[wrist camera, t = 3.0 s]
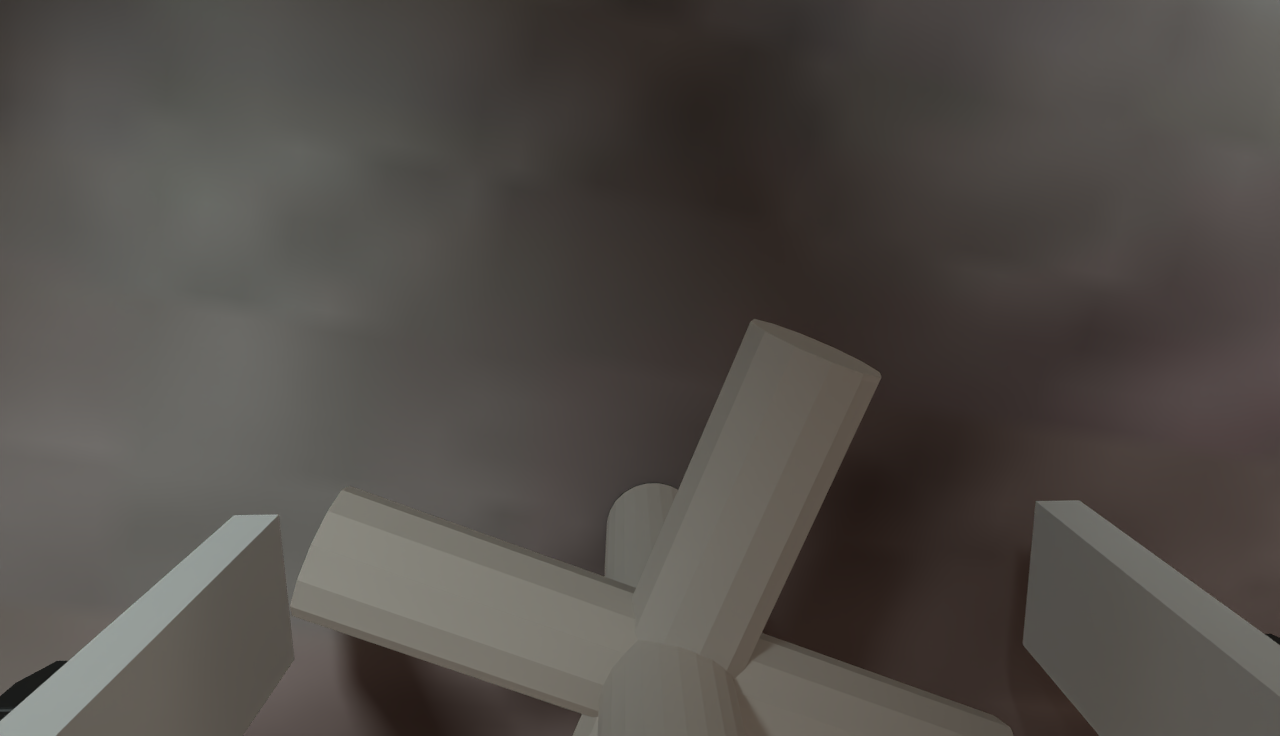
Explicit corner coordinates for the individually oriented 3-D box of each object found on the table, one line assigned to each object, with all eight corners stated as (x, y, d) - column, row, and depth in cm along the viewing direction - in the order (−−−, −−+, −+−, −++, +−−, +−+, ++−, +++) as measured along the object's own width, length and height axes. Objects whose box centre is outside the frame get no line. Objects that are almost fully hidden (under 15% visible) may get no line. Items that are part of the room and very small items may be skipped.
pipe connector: (995, 386, 17) (1516, 695, 7) (783, 810, 19) (960, 1511, 9) (497, 188, 16) (293, 223, 6) (330, 658, 18) (-28, 1260, 8)
